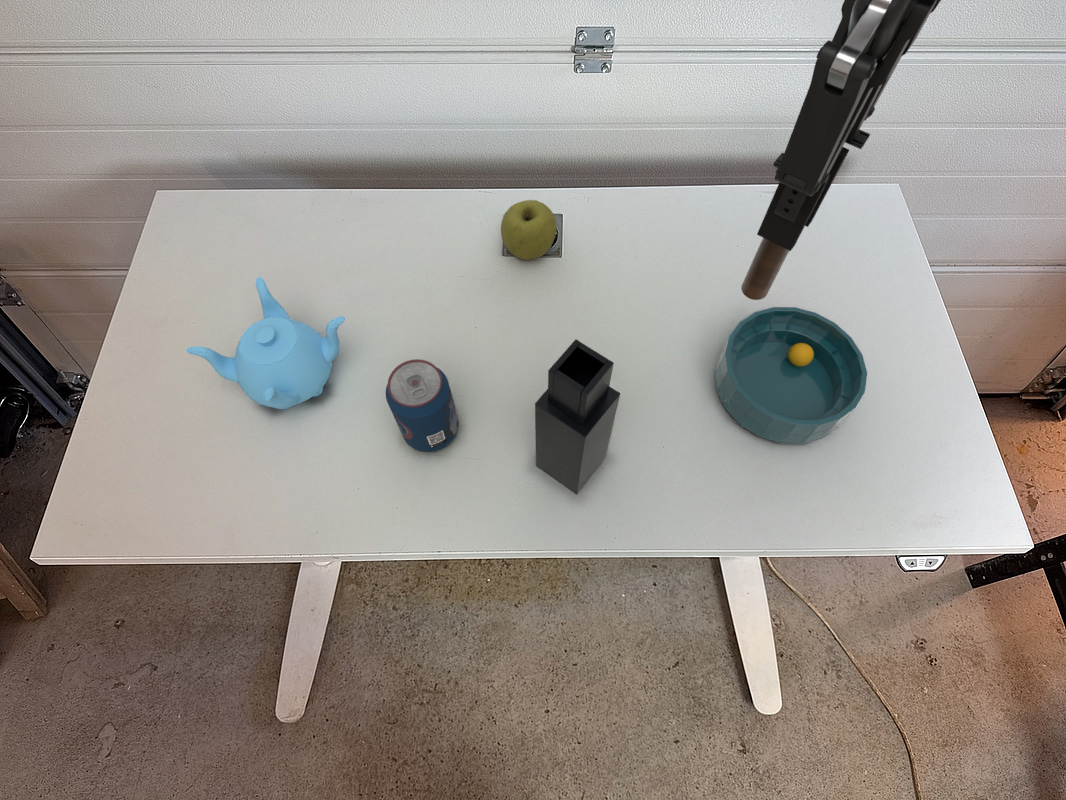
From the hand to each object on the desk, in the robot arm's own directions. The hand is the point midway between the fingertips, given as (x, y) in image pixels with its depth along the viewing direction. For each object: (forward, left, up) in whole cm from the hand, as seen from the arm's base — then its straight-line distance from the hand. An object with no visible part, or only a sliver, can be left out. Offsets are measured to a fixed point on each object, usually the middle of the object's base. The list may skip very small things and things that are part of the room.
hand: (784, 227), depth 47 cm
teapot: (-24, +44, -35) cm, 61 cm away
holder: (-12, +9, -35) cm, 38 cm away
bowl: (+12, -6, -35) cm, 37 cm away
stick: (0, 0, -7) cm, 7 cm away
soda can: (-19, +25, -35) cm, 47 cm away
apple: (+11, +33, -35) cm, 49 cm away
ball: (+16, -6, -32) cm, 37 cm away
